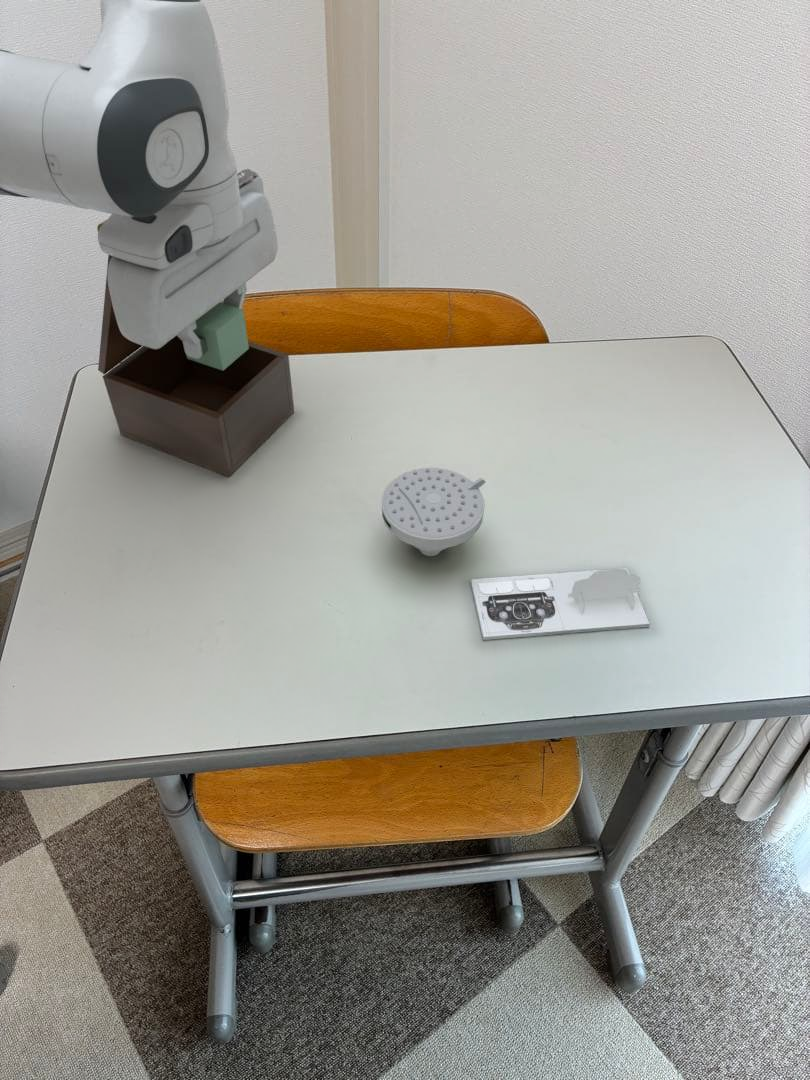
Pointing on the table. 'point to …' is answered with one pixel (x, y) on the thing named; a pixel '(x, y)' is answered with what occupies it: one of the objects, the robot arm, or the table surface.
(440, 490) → the showerhead
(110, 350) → the lid
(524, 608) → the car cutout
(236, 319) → the soap block
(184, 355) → the chest
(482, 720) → the table surface
